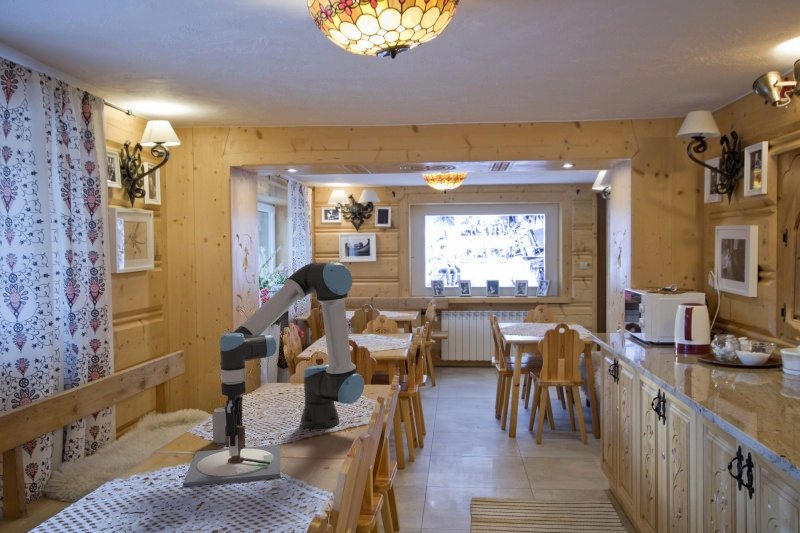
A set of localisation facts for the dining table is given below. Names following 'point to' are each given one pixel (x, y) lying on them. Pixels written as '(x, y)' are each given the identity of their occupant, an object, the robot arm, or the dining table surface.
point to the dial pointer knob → (240, 447)
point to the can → (219, 425)
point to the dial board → (233, 466)
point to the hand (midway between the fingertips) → (235, 453)
